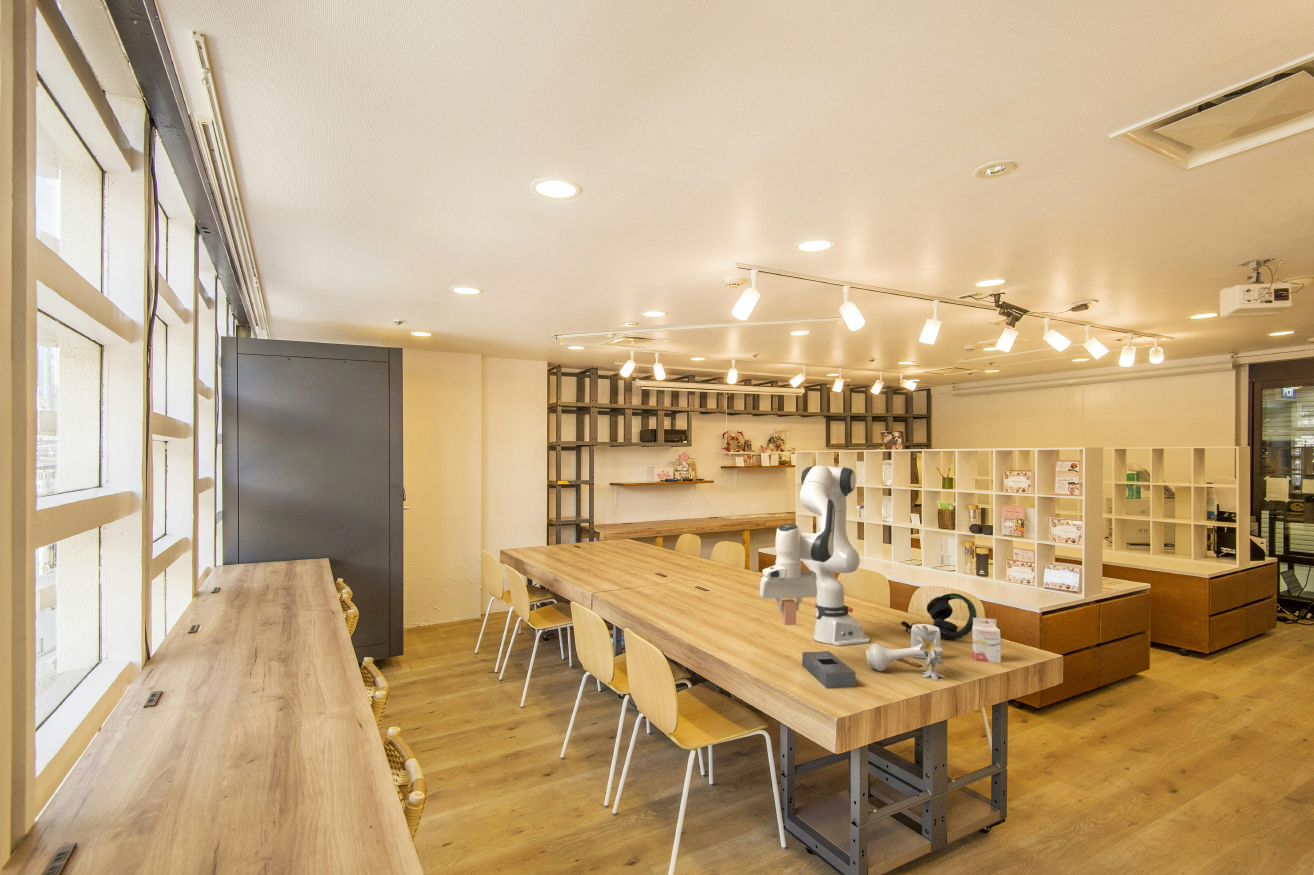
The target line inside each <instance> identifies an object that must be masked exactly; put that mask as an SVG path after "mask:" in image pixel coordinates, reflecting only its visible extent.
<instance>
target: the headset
mask: <svg viewBox="0 0 1314 875" xmlns="http://www.w3.org/2000/svg"><path fill="white" fill-rule="evenodd" d="M952 600H962V602H964V603H965V604H966V607H967V611H968V619H967V621H966V624H965V625H964V626H963V627H962V628H961V629H959V630H958V625H957V624H955V623H952V622H950V621H947V620H946V619H948V618H950V617H951V616H952V614H953V613H954V612H953V611H954V609H953V607H952V606H951V604H950V603H949V602H950V601H952ZM926 611H927V613H928V614H929V616H930V618H931V619H932V620H933V623H932V624H933V626H936V627H938V628H939V630H940V638H941V639H943V640H951V639H954V640H956V639H962V638H963V637H966V636H967V635H969V634H970V633H971V632H972V626H973V618H978V617H977V609H976V607H975V605H974V603H973V602H972V601H971V600H970V599H969V598H967V597H965V596H964V595H962V594H959V593H954V592H953V593H945V594H943V595H940V596H936V597H933V599H931V600H930V601H929V602H928V604H927V606H926ZM900 624H901V626H903V627H904V628H905V630H904V631H905V632H906V633H908V634H910V632H911V629H912V625H915V624H923V623H922V622H917V621H916V622H913V623H911V625H910V624H909V623H908V622H907V621H905V620H903V621H901V622H900Z"/></svg>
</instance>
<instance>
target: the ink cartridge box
mask: <svg viewBox="0 0 1314 875" xmlns="http://www.w3.org/2000/svg"><path fill="white" fill-rule="evenodd" d="M971 632H972V633H971V634H972V636H971V637H972V641H971V642H972V646H971V647H972V657H973V658H974V660H975V661H978V662H990V663H1001V662H1002V660H1001V659H1002V658H1001V655H1002V654H1001V652H1002V651H1001V647H1002V646H1001V645H1002V644H1001V630H1000V629H999V628H998V627H997V619H996V618H985V617H984V618H982V617H977V618H973V626H972V630H971Z"/></svg>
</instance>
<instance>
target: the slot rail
mask: <svg viewBox="0 0 1314 875" xmlns="http://www.w3.org/2000/svg"><path fill="white" fill-rule="evenodd" d="M801 653H802V654H801V656H802V657H801V658H802V659H801V660H802V661H801V662H802V664H801V665H802V667H803V668H804V669H805V670H806V671H807V672H808V673H810V674H811V676H813V677H814V679H816V680H817V681H818V682H819V683H820V684H821V685H822V686H823V687H824V688H825V689H836V688H837V689H839V688H841V689H842V688H856V686H857V685H856V679H857V678H856V671H855V670H854V669H852V668H851V667H850V666H848V665H847V664H846V663H845V662H844V661H842V660H841V659H840V658H838V657H837V656H835V654H833V653H832V652H831V651H829V650H826V651H805V652H804V651H801Z"/></svg>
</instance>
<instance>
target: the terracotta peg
mask: <svg viewBox="0 0 1314 875" xmlns="http://www.w3.org/2000/svg"><path fill="white" fill-rule="evenodd" d="M796 602H797V601H795V599H793V598H785V599H781V601H780V604H781V605H783V606H784V611H780V613H781V623H782V624H783V625H784V626H796V625H797V610H796Z"/></svg>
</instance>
